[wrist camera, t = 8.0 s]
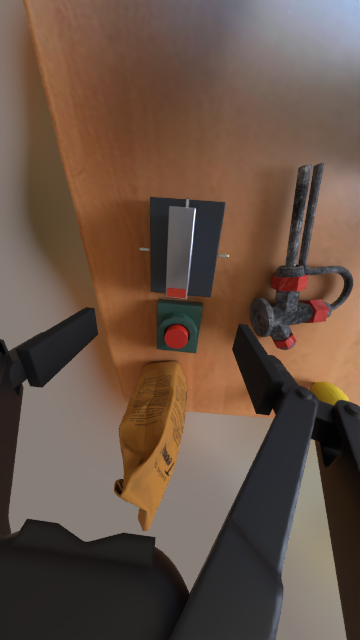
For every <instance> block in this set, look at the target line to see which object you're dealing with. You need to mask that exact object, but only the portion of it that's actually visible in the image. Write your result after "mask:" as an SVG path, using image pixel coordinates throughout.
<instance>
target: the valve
mask: <svg viewBox="0 0 360 640" xmlns="http://www.w3.org/2000/svg"><path fill="white" fill-rule="evenodd" d="M323 166H324V163H321V164H317V165H315V166H314V170H313V176H312V182H311V189H310V195H309V201H308V207H307V213H306V220H305V226H304V232H303V238H302V244H301V251H300V257H299V265H296V262H297V255H298V249H299V242H300V236H301V229H302V223H303V217H304V210H305V204H306V197H307V191H308V185H309V178H310V172H311V165H304V166H301V167H299V168H298V175H297V183H296V190H295V198H294V205H293V213H292V220H291V228H290V235H289V243H288V250H287V258H286V265H285V266H280V267H279V268H278V270H277V273H276V275H273V276H272V286H271V288H273V289H275V290H276V298H275V305H270V304H269V303H268V301H267V300H265V299H264V298H257V299H255V300H253V302H252V304H251V307H250V320H251V325H252V327H253V330H254V331H255V333H256V334H257V335H258V336H260V337H266V336H269V335H270V336H271V337H272V339H273V341H274V343H275V345H276V347H277V348H279V349H282V350H287V349H290V348H292V347H293V346H294V345H295V342H296V340H295V338H294V336H293V334H292V331H291V329H290V327H289V325H293V324H299V323H314V322H322V321H326V318H327V317H329V316H330V315H331V312H332V310H334V309H336V308H337V307H339V306H340V305H341V304H343V303H344V302H345V300H346V299H347V298H348V296H349V295H350V293H351V290H352V287H353V278H352V275H351V273H350V272H349V271H348V270H347V269H346V268H344V267H341V266H329V267H320V268H308V266H307V256H308V251H309V245H310V239H311V234H312V228H313V223H314V217H315V211H316V206H317V200H318V195H319V189H320V183H321V178H322V172H323ZM325 273H338V274H340V275H341V276H342V277H343V279H344V288H343V291H342V293H341V295H340V296H339V298H338V299H337V300H336V301H335V302H333V303H332V304H330V305H329V304H328V303H326V302H324V301H323V300H322V299H317V300H309V301H304V302H300V303H298V298H299V291H300V290H303V289H306V285H307V279H308V275H317V274H325Z"/></svg>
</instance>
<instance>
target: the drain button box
mask: <svg viewBox="0 0 360 640" xmlns="http://www.w3.org/2000/svg"><path fill="white" fill-rule="evenodd" d="M202 309H203V305H202V303H196V302H185V301H175V300H165V299H159V301H158V302H157V349H162V350H171V351H180V352H189V353H196V351H197V344H198V337H199V330H200V323H201V316H202ZM174 324H179V325H182V326H184V327H185V328H186V329H187V331H188V342H187V344H186V345H185V346H184V347H182V348H180V349H174V348H171V347H169V346H168V345H167V344H166V342H165V334H166V330H167V329H168V327H170V326H171V325H174Z"/></svg>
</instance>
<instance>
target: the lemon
mask: <svg viewBox="0 0 360 640" xmlns="http://www.w3.org/2000/svg"><path fill="white" fill-rule="evenodd" d="M310 391H311V392H312V393H314V394H315V395H316V397H317V398H318V400H320V401H323V402H326V403H329V404H332V405H334V404H335V403H336V402H337V401H338V400H346V401H349V399H348V397H347V396H346V395H345V394H344V393H343V392H342V391H341V390H340V389H339V388H338V387H337V386H335V385H333V384H331V383H328V382H316V383H314V384H313V385H312V386H311V388H310ZM349 402H350V401H349Z"/></svg>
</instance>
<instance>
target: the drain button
mask: <svg viewBox="0 0 360 640" xmlns="http://www.w3.org/2000/svg"><path fill="white" fill-rule="evenodd" d="M165 342H166V344H167V345H168V346H169V347H171V348H174V349H180V348H182V347H184V346H185V345H186V344H187V342H188V331H187V329H186V328H185V327H184V326H182V325H179V324H174V325H171V326H170V327H168V329H167V330H166V334H165Z"/></svg>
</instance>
